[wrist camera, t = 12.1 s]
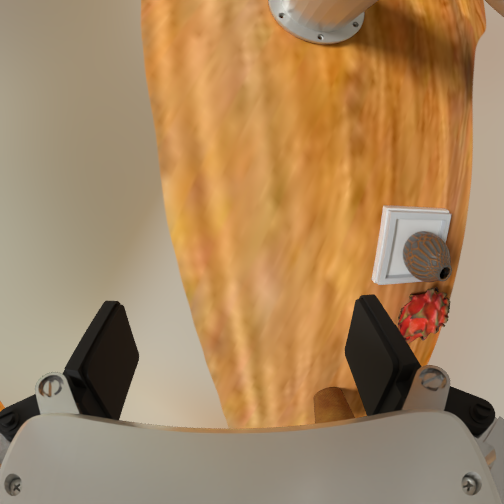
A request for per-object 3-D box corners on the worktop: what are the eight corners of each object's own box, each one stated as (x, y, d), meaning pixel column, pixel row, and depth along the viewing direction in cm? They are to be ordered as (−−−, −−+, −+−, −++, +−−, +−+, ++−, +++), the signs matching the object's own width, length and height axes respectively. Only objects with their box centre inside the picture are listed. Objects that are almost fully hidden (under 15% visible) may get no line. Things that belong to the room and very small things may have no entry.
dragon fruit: (435, 275, 46) (389, 316, 51) (429, 273, 40) (376, 320, 45) (461, 311, 41) (413, 350, 47) (459, 315, 35) (402, 360, 41)
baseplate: (383, 205, 39) (389, 210, 37) (445, 208, 39) (452, 212, 37) (371, 279, 44) (376, 286, 42) (430, 275, 44) (436, 281, 42)
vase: (393, 268, 42) (420, 299, 34) (398, 226, 39) (430, 252, 31) (428, 263, 42) (457, 291, 34) (434, 224, 39) (468, 247, 31)
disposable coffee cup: (303, 409, 58) (311, 454, 47) (310, 384, 54) (320, 432, 43) (343, 405, 58) (355, 448, 47) (354, 379, 54) (370, 425, 43)
